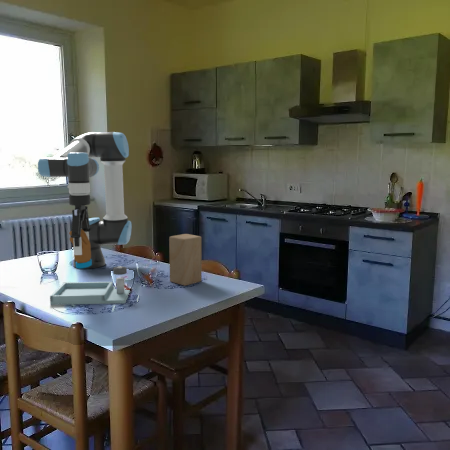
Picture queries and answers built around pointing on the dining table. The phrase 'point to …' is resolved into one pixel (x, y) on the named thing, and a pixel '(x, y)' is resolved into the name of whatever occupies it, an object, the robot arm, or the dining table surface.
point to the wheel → (119, 270)
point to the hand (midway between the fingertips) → (82, 251)
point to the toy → (83, 252)
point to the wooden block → (185, 259)
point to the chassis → (90, 293)
